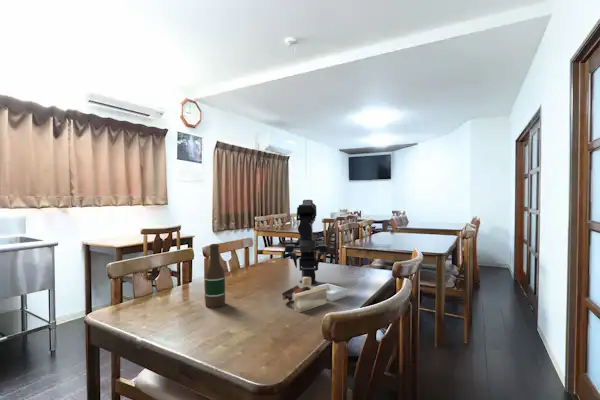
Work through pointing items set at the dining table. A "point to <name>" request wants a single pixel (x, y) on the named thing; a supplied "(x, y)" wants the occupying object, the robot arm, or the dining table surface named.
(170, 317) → the dining table surface
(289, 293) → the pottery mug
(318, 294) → the block
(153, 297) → the dining table surface
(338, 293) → the tray
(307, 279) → the peg
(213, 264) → the beer bottle
